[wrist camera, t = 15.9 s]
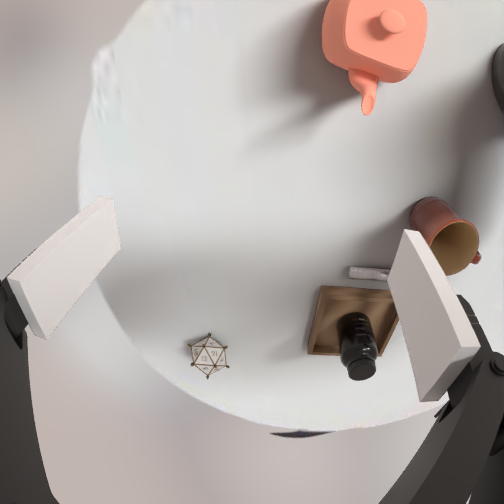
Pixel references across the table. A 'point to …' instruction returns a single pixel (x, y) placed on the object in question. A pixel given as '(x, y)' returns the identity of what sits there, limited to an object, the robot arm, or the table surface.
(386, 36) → the teapot
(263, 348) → the table surface
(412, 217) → the mug
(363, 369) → the supplement bottle
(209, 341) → the game die
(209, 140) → the table surface
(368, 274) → the pin
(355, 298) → the tray
